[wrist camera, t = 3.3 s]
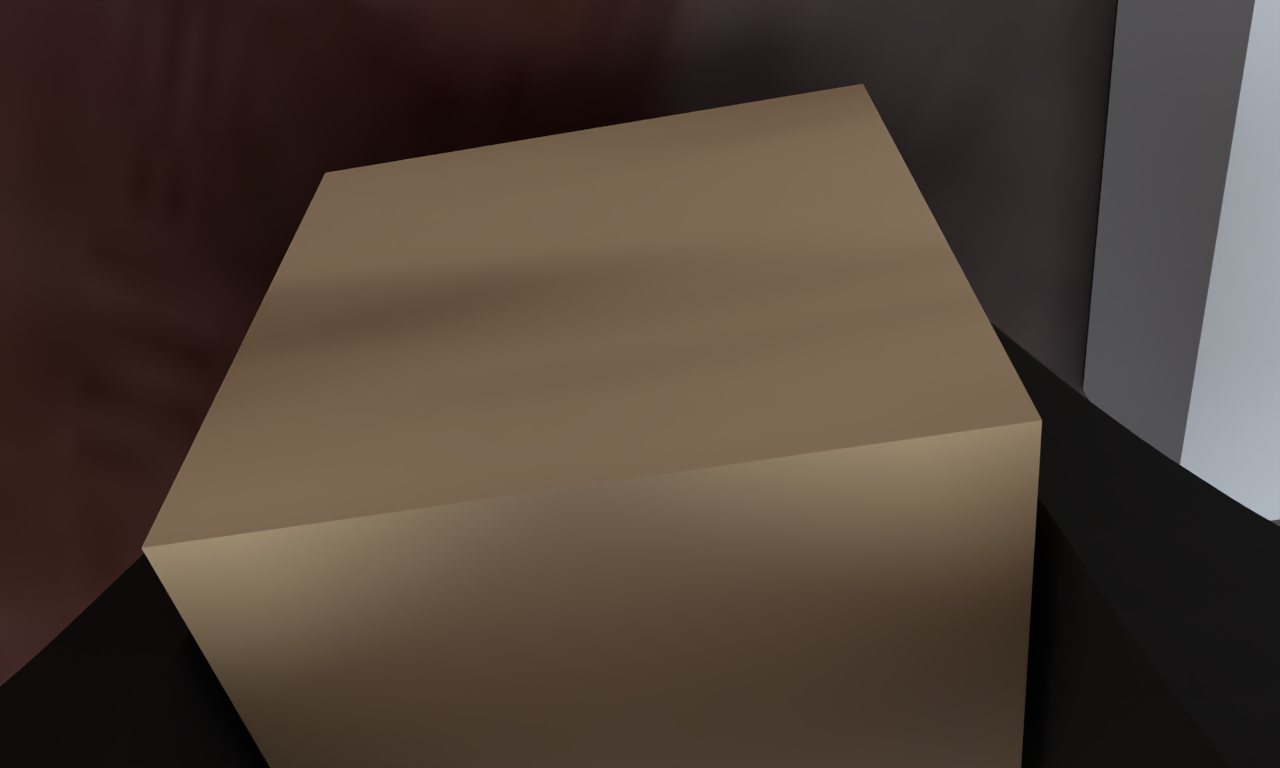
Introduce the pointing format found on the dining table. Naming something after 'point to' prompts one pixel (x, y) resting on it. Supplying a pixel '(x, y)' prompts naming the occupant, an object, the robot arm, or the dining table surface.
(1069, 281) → the dining table surface
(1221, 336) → the grey-blue platform
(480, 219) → the birch cube
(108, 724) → the robot arm
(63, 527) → the dining table surface
